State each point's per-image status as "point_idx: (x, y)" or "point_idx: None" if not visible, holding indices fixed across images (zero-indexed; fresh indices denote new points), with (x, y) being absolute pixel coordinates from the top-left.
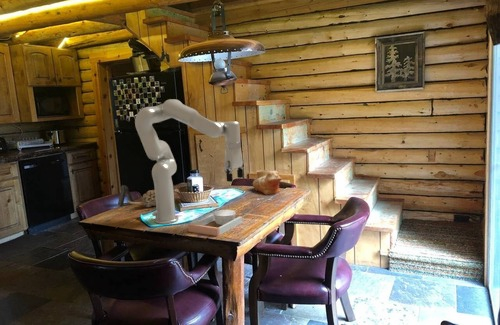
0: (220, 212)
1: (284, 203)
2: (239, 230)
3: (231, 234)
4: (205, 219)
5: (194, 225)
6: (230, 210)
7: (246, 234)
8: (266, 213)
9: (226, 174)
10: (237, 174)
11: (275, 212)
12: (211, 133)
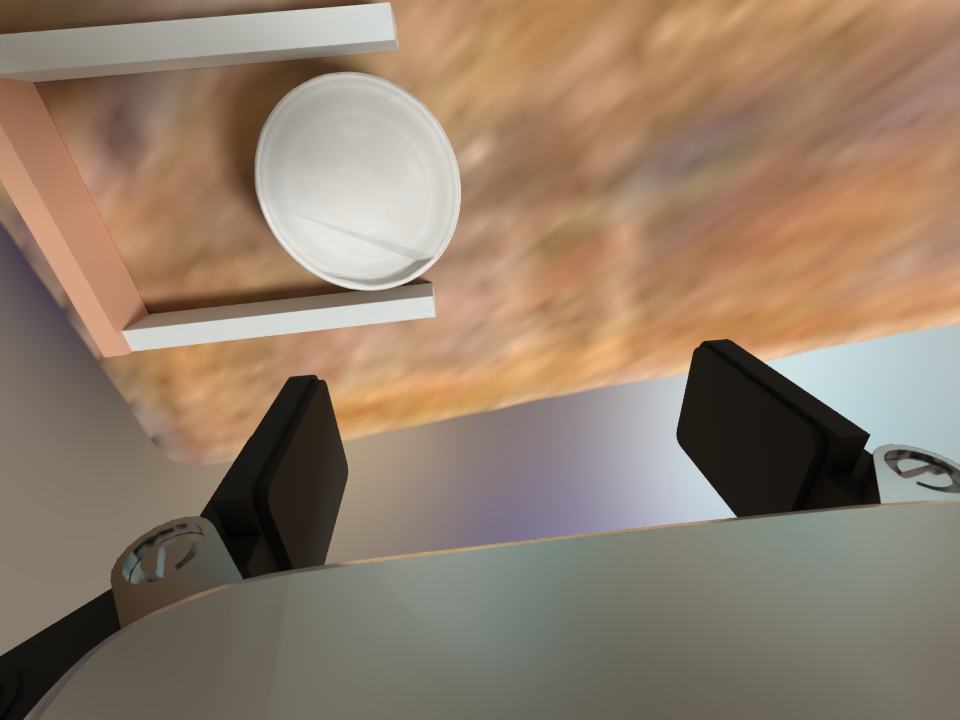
0: (341, 153)
1: (927, 295)
2: None
3: (222, 380)
4: (202, 57)
5: None
6: (443, 201)
7: None
8: (671, 321)
9: (228, 477)
10: (735, 377)
11: None
12: None
